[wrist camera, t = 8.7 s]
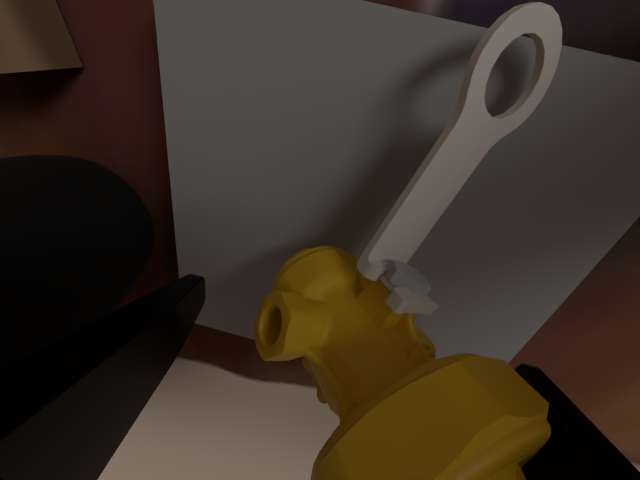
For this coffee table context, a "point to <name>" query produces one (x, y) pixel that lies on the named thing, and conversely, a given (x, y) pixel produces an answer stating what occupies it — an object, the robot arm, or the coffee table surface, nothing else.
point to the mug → (64, 248)
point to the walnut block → (34, 37)
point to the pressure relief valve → (414, 314)
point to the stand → (387, 158)
